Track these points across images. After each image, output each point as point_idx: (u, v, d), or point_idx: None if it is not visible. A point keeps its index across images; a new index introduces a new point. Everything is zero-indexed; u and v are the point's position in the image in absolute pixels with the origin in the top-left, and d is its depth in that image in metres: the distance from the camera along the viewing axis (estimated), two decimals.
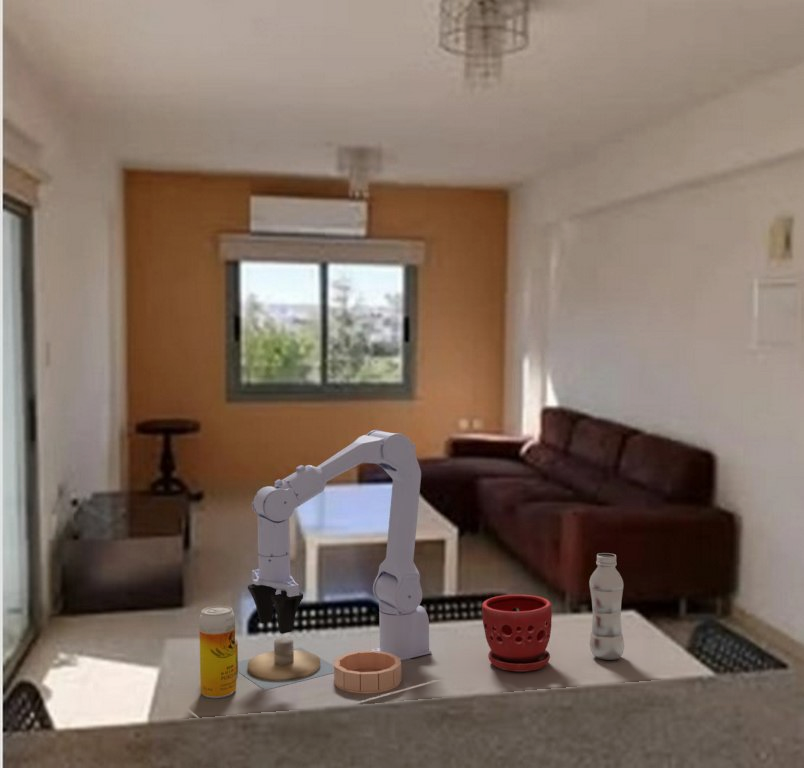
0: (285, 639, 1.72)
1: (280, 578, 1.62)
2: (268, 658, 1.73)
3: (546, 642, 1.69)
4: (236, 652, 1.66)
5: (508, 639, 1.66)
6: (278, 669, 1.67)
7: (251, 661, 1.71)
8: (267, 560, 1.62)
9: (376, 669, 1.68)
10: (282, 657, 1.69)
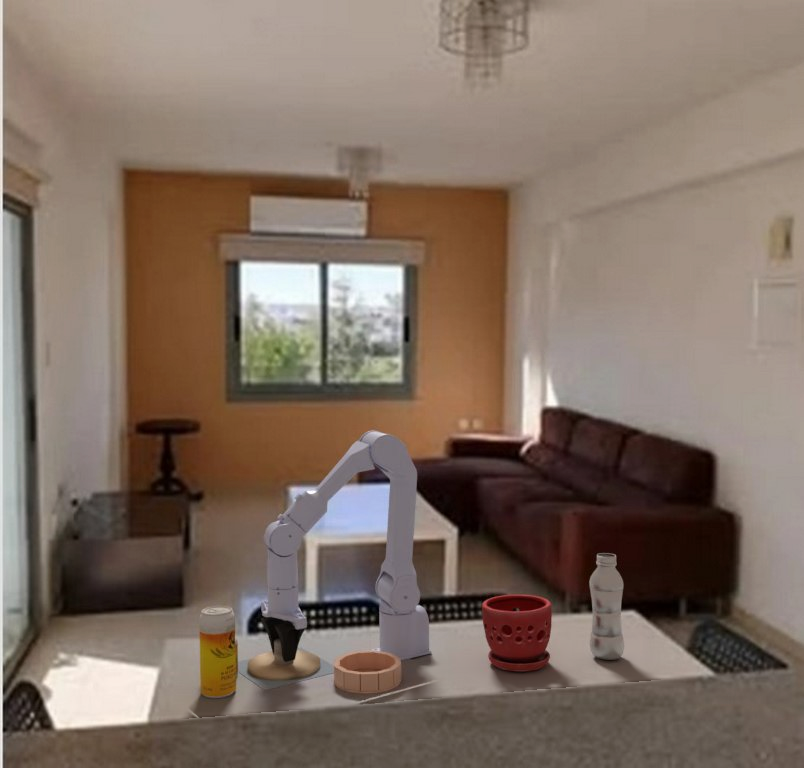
0: None
1: (288, 610, 1.68)
2: (268, 658, 1.73)
3: (546, 642, 1.69)
4: (236, 652, 1.66)
5: (508, 639, 1.66)
6: (278, 668, 1.67)
7: (251, 661, 1.71)
8: (276, 593, 1.67)
9: (376, 669, 1.68)
10: (282, 657, 1.69)
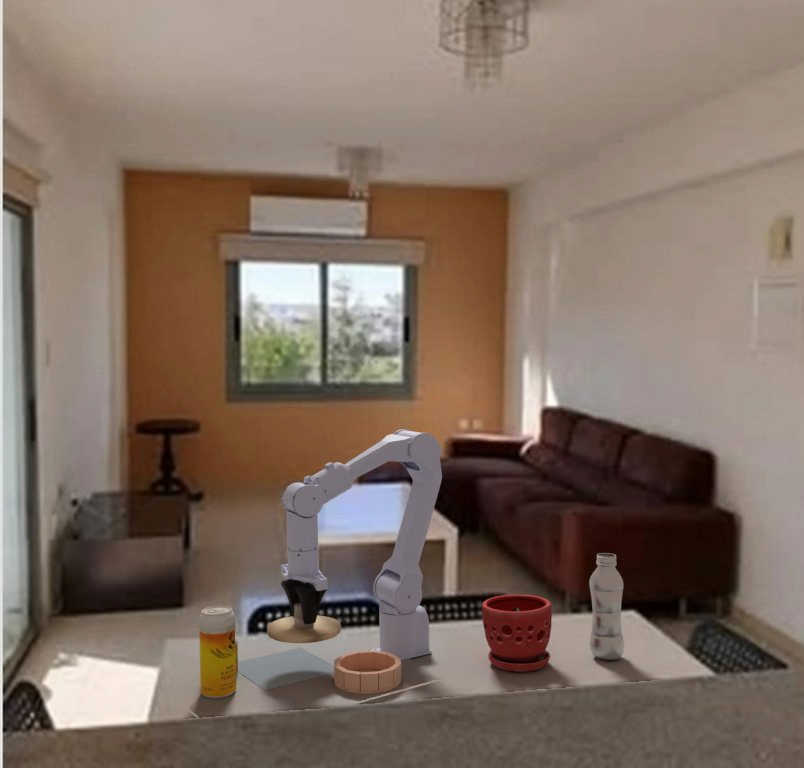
0: None
1: (309, 572, 1.66)
2: (288, 622, 1.71)
3: (546, 642, 1.69)
4: (236, 652, 1.66)
5: (508, 639, 1.66)
6: (298, 632, 1.65)
7: (271, 625, 1.69)
8: (296, 555, 1.65)
9: (376, 669, 1.68)
10: (302, 620, 1.67)
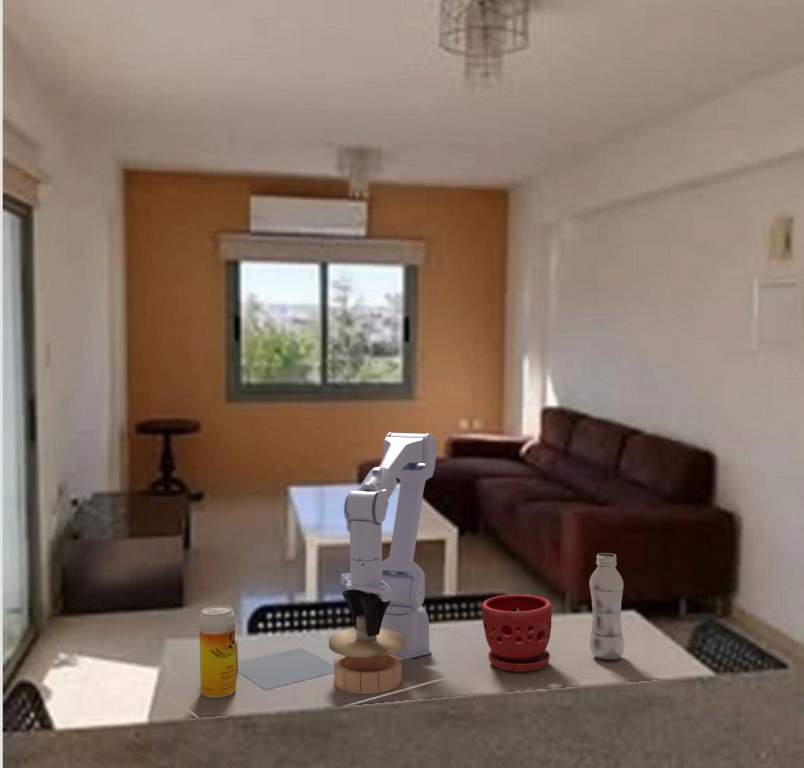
0: None
1: (373, 583, 1.60)
2: (350, 635, 1.66)
3: (546, 642, 1.69)
4: (236, 652, 1.66)
5: (508, 639, 1.66)
6: (360, 645, 1.60)
7: (332, 637, 1.64)
8: (360, 564, 1.60)
9: (376, 669, 1.68)
10: (364, 633, 1.61)
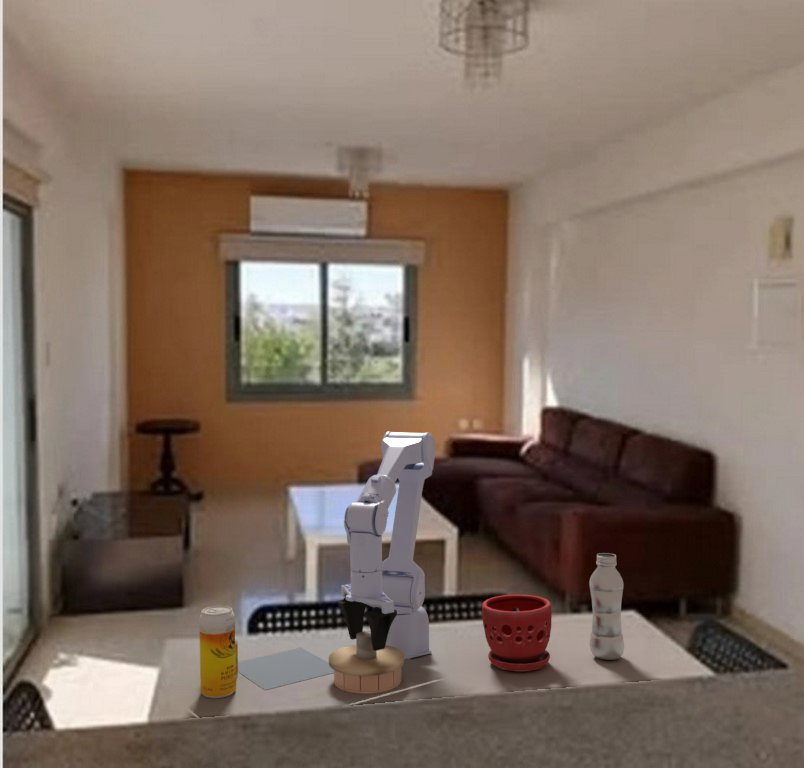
0: (367, 632, 1.64)
1: (373, 594, 1.60)
2: (350, 652, 1.66)
3: (546, 642, 1.69)
4: (236, 652, 1.66)
5: (508, 639, 1.66)
6: (360, 663, 1.60)
7: (332, 654, 1.64)
8: (360, 576, 1.60)
9: None
10: (364, 651, 1.62)
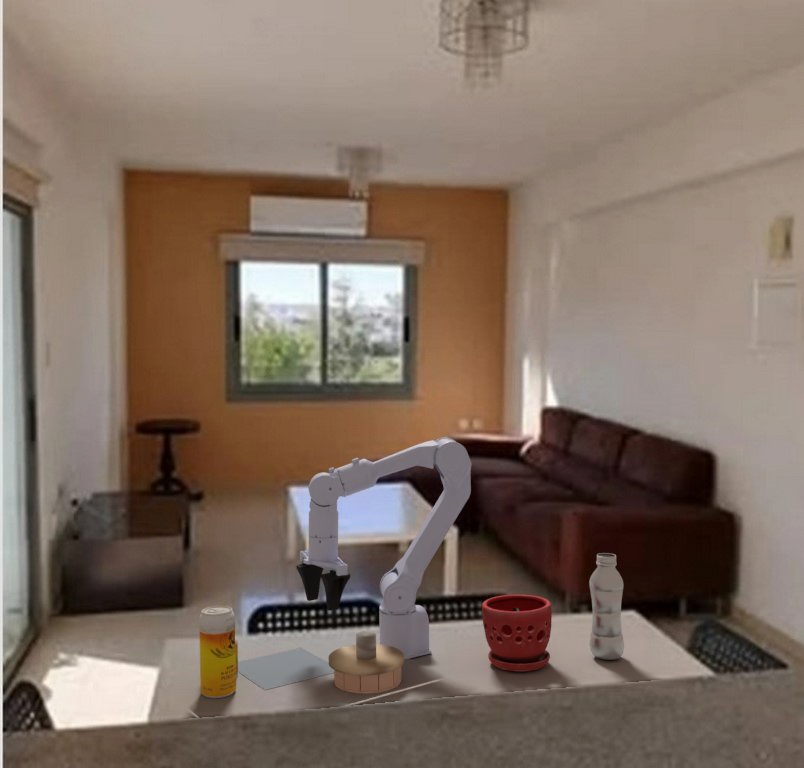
0: (367, 632, 1.64)
1: (329, 558, 1.74)
2: (350, 652, 1.66)
3: (546, 642, 1.69)
4: (236, 652, 1.66)
5: (508, 639, 1.66)
6: (360, 663, 1.60)
7: (332, 654, 1.65)
8: (318, 541, 1.73)
9: None
10: (364, 651, 1.62)
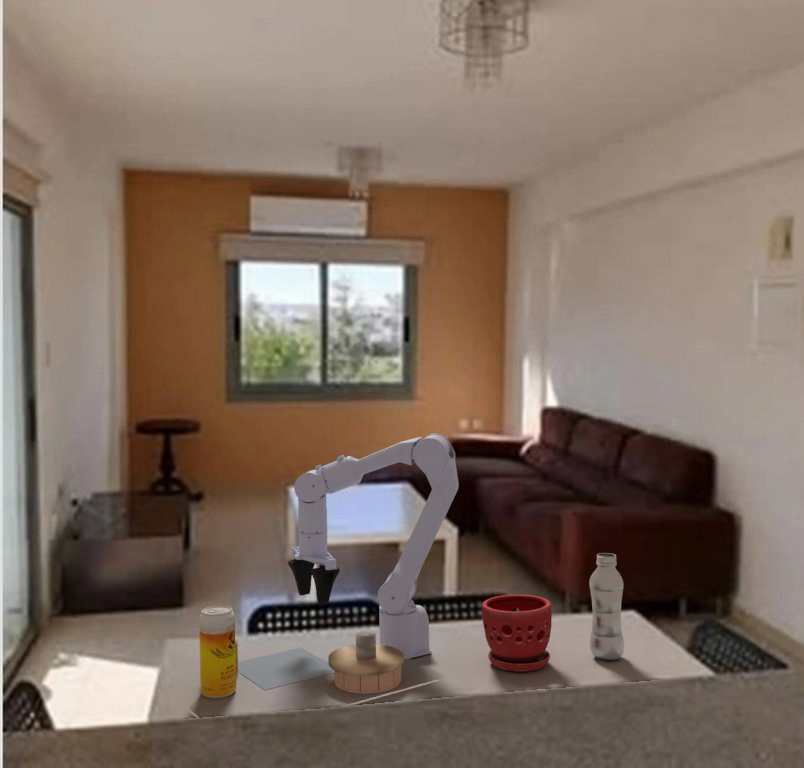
0: (367, 632, 1.64)
1: (318, 553, 1.78)
2: (349, 652, 1.66)
3: (546, 642, 1.69)
4: (236, 652, 1.66)
5: (508, 639, 1.66)
6: (360, 663, 1.60)
7: (332, 654, 1.65)
8: (307, 537, 1.78)
9: None
10: (364, 651, 1.62)
